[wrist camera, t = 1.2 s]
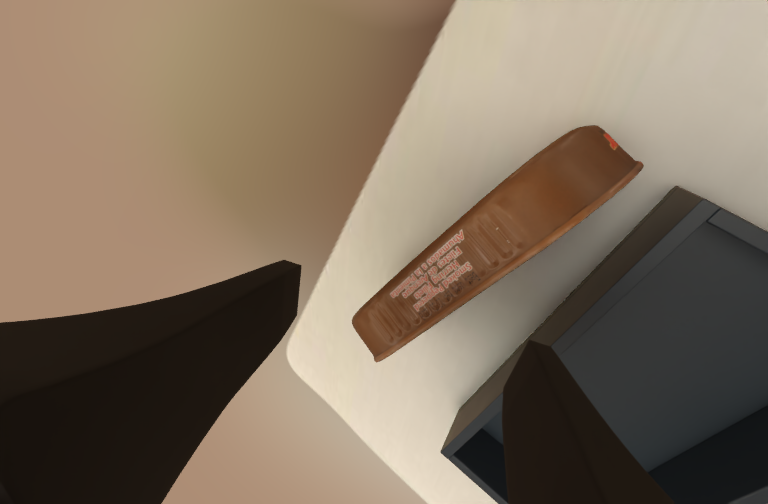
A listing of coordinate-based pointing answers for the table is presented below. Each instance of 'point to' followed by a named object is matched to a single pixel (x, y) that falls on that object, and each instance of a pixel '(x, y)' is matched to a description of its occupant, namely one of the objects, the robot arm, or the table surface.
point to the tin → (497, 236)
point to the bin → (659, 357)
